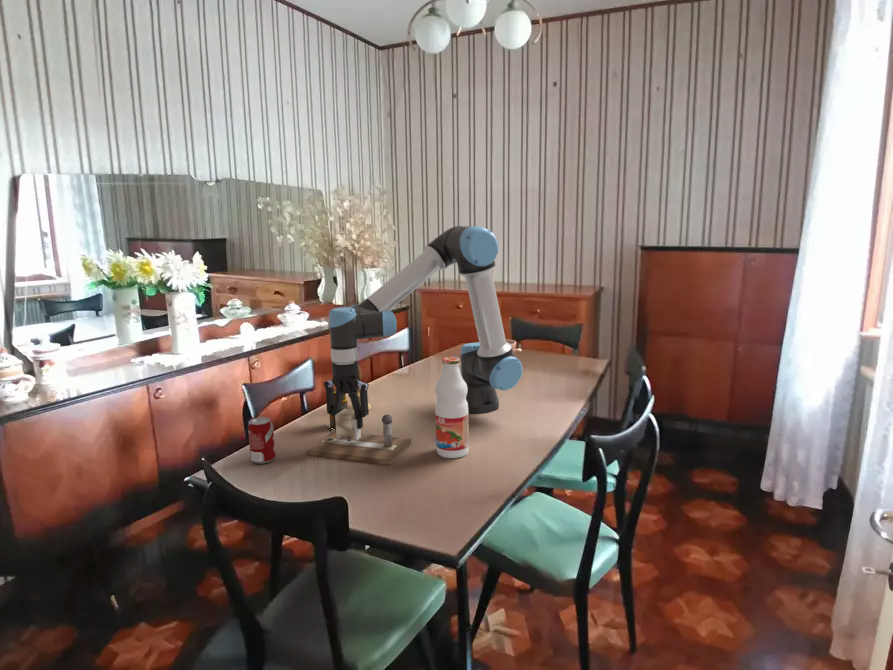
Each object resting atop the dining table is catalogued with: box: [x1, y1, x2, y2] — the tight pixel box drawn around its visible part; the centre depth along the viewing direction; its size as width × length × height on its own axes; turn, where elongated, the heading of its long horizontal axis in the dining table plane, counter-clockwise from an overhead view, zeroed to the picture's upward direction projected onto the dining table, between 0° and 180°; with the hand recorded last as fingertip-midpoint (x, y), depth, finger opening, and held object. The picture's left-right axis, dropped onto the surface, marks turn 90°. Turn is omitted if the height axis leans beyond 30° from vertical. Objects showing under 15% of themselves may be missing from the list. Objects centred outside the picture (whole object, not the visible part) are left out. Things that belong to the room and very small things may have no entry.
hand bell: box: [348, 364, 373, 411], centre depth 209 cm, size 8×8×16 cm
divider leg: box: [335, 408, 356, 442], centre depth 174 cm, size 5×6×9 cm
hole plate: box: [306, 414, 412, 466], centre depth 173 cm, size 26×16×12 cm, turn 72°
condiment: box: [325, 388, 349, 433], centre depth 191 cm, size 7×8×12 cm
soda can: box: [247, 416, 277, 465], centre depth 166 cm, size 7×7×12 cm
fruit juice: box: [434, 356, 470, 459], centre depth 167 cm, size 9×9×28 cm
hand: (349, 437), depth 174 cm, fingers closed on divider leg, 5 cm apart
